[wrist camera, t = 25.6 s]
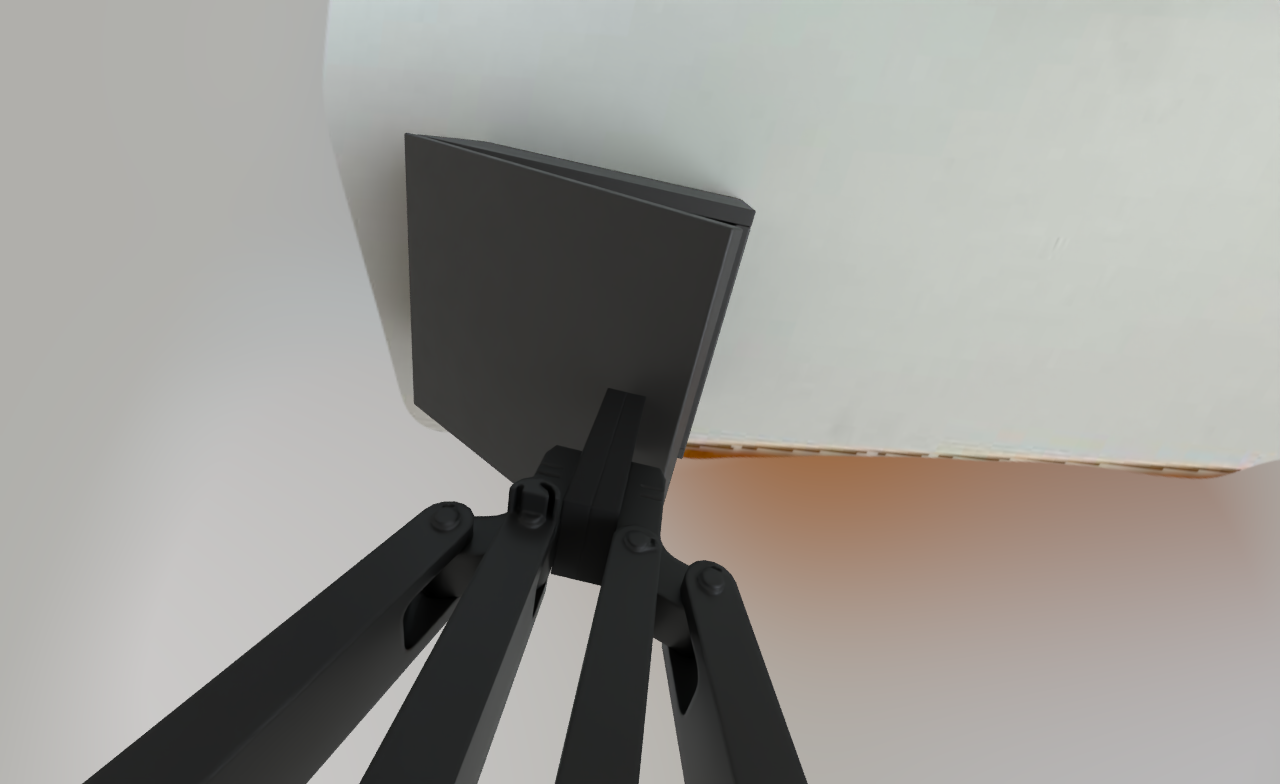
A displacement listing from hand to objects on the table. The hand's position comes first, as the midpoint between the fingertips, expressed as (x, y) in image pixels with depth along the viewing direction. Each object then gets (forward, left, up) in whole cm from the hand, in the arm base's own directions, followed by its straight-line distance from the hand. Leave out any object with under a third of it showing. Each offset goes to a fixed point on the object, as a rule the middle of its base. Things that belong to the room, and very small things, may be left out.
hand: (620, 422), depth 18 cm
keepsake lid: (-5, 0, -5) cm, 7 cm away
